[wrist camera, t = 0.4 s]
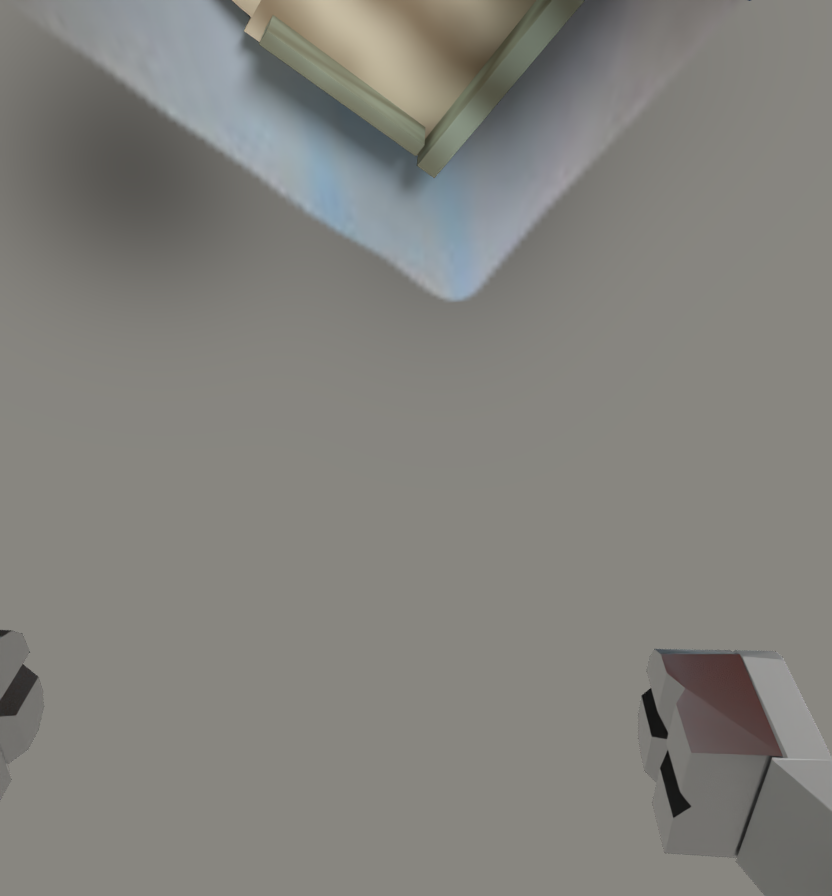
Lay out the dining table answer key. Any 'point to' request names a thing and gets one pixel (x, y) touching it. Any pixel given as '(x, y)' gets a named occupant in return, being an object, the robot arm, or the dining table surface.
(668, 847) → the robot arm
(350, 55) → the dock
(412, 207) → the dining table surface
